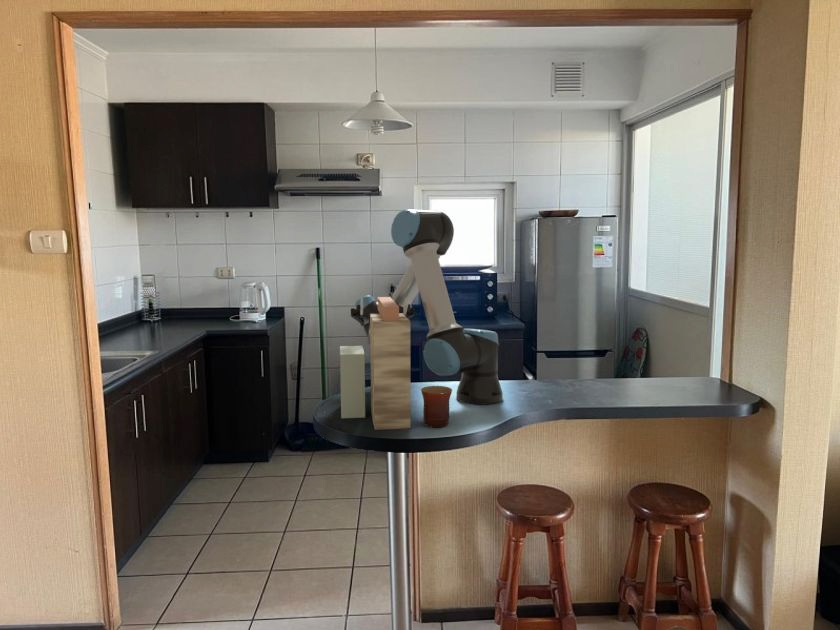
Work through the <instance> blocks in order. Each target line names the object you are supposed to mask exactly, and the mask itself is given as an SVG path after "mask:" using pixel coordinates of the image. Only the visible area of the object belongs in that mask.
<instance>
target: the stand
mask: <svg viewBox="0 0 840 630" xmlns="http://www.w3.org/2000/svg"><path fill="white" fill-rule="evenodd" d="M369 349H370V351H369V353H370V357H369V358H370V362H369V363H370V364H369V365H370V413H371V414H370V415H371V418H372V424H373V428H374V429H373V430H374V431H375V430H378V431H379V430H397V429H398V430H399V429H400V430H401V429H403V430H404V429H411V414H412V413H411V412H412V411H411V320H410V319H408V318H407V317H406V316H405V315H404V314H403V313H399V321H384V320H383V318H382V316H381V315H380V314H370V346H369Z"/></svg>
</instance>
